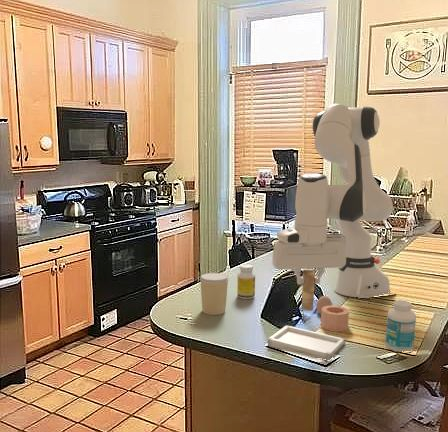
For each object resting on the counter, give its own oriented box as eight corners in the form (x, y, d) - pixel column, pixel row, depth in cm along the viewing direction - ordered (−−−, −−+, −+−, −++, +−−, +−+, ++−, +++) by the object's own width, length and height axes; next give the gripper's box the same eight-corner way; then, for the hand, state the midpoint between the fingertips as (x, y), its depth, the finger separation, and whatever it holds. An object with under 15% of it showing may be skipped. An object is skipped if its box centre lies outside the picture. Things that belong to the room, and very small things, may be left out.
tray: (344, 346, 140) (344, 338, 140) (328, 362, 130) (329, 354, 130) (286, 332, 150) (286, 325, 149) (267, 345, 140) (267, 338, 139)
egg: (319, 312, 167) (320, 292, 166) (334, 315, 165) (335, 295, 164) (313, 316, 163) (314, 296, 162) (328, 319, 160) (329, 299, 159)
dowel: (310, 306, 140) (312, 268, 138) (314, 310, 137) (316, 271, 135) (299, 307, 139) (301, 269, 138) (303, 311, 136) (305, 272, 135)
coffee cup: (231, 308, 170) (232, 274, 168) (222, 317, 161) (222, 281, 160) (205, 304, 173) (206, 271, 171) (195, 313, 164) (195, 278, 163)
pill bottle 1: (253, 300, 179) (254, 268, 177) (235, 298, 180) (236, 267, 178) (255, 294, 185) (256, 264, 183) (238, 293, 186) (239, 263, 184)
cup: (341, 323, 158) (342, 304, 157) (352, 332, 150) (353, 313, 149) (317, 324, 156) (317, 306, 155) (326, 334, 148) (327, 315, 147)
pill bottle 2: (380, 344, 142) (383, 298, 140) (406, 343, 143) (409, 298, 141) (391, 355, 135) (395, 307, 133) (418, 354, 135) (422, 307, 133)
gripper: (341, 231, 140) (339, 279, 142) (271, 232, 136) (269, 281, 138) (351, 235, 134) (348, 285, 136) (278, 237, 130) (276, 288, 132)
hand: (308, 283), depth 137 cm, fingers closed on dowel, 3 cm apart
